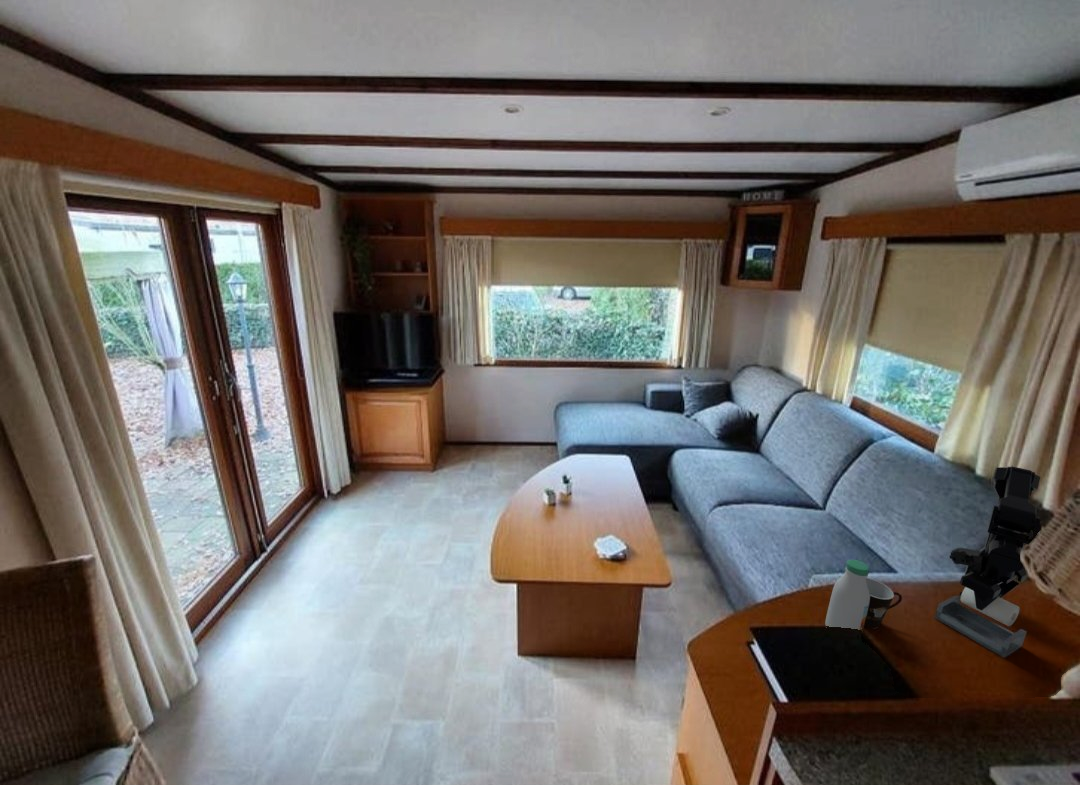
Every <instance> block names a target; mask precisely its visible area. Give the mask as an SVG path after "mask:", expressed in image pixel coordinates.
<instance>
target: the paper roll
mask: <svg viewBox="0 0 1080 785" xmlns="http://www.w3.org/2000/svg"><path fill="white" fill-rule="evenodd" d="M962 591H963V592H962ZM962 591H961V592H962V595H960V597H961V598H960V603H962V604H964V605H966V606H968V607H970V608H971V609H974V610H976V611H978V612H979V613H981V614H983V615H985V616H987V617H989V618H991V619H994V620H995V621H997V622H999V623H1001V624H1003V625H1005V626H1007V627H1011V626H1013V624H1014V623H1015V622H1016V620H1017V618H1018V616H1019V613H1020V607H1019V606H1018V605H1016V604H1014V603H1012V602H1010V601H1009V600H1006V599H1004V598H1003V597H1002V598H1000V597H998V598H997V599H996V600H995V601H993V602H992V603H991V604H990V605H988V606H987V607H986V608H984V609H983V610H979V609H977V608H976V602H975V595H974V591H973V590H971V589H969V588H967V587H965V586H964V589H963V590H962Z"/></svg>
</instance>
